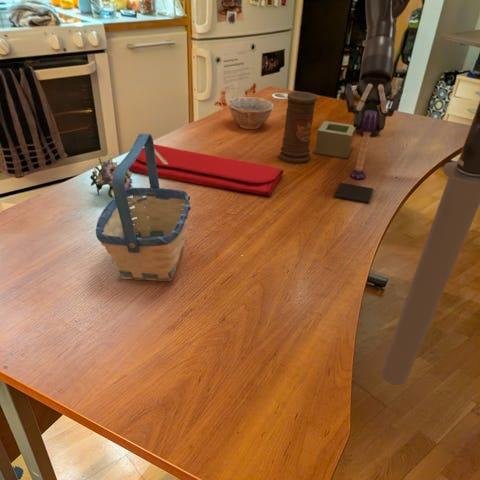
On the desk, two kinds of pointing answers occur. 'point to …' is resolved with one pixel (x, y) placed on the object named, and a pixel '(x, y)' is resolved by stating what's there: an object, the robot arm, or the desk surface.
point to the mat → (353, 193)
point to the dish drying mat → (211, 170)
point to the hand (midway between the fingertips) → (368, 129)
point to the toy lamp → (365, 142)
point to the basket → (144, 222)
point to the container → (298, 127)
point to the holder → (335, 139)
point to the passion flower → (108, 176)
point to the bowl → (250, 111)
